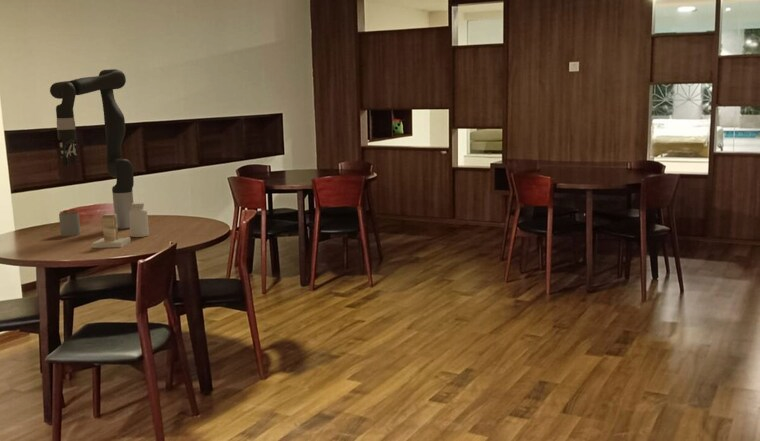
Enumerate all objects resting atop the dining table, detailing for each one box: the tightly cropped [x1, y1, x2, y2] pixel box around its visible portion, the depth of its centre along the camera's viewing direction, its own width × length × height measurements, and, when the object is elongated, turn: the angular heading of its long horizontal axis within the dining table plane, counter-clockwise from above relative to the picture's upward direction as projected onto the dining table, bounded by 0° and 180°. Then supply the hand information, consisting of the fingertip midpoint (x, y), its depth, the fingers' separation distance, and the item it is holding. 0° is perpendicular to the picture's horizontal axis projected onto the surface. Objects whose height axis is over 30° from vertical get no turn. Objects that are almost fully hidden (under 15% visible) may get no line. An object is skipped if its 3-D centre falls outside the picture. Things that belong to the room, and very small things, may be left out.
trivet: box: [91, 236, 132, 249], centre depth 323 cm, size 12×12×2 cm
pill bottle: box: [129, 202, 150, 238], centre depth 341 cm, size 8×8×15 cm
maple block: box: [101, 213, 119, 241], centre depth 322 cm, size 4×4×11 cm
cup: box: [58, 211, 81, 237], centre depth 350 cm, size 8×8×10 cm
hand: (69, 165), depth 334 cm, fingers open, 8 cm apart
